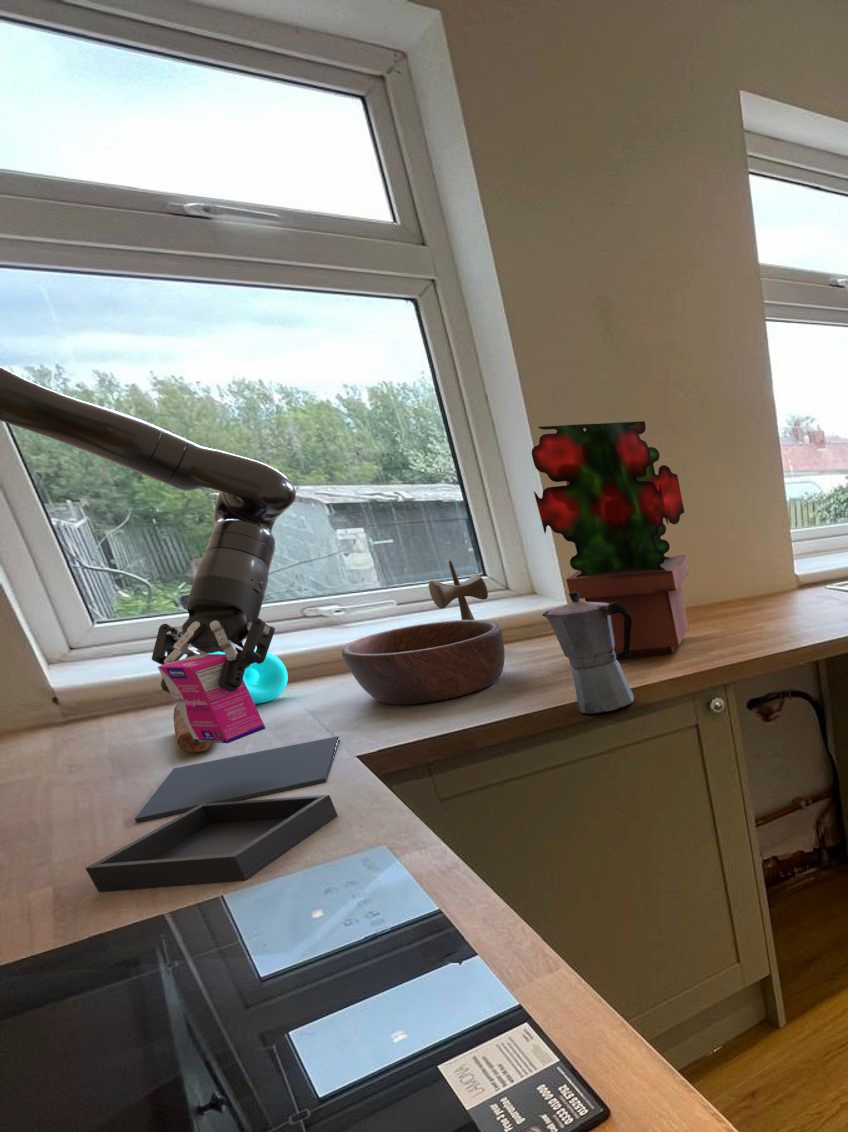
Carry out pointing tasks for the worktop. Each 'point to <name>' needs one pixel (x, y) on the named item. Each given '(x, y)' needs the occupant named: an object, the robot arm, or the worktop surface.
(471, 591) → the kendama
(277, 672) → the donuts
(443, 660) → the wooden bowl
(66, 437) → the robot arm
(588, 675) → the moka pot
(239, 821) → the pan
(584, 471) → the potted plant
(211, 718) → the supplement box
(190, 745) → the bread
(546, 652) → the worktop surface
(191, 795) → the mat
